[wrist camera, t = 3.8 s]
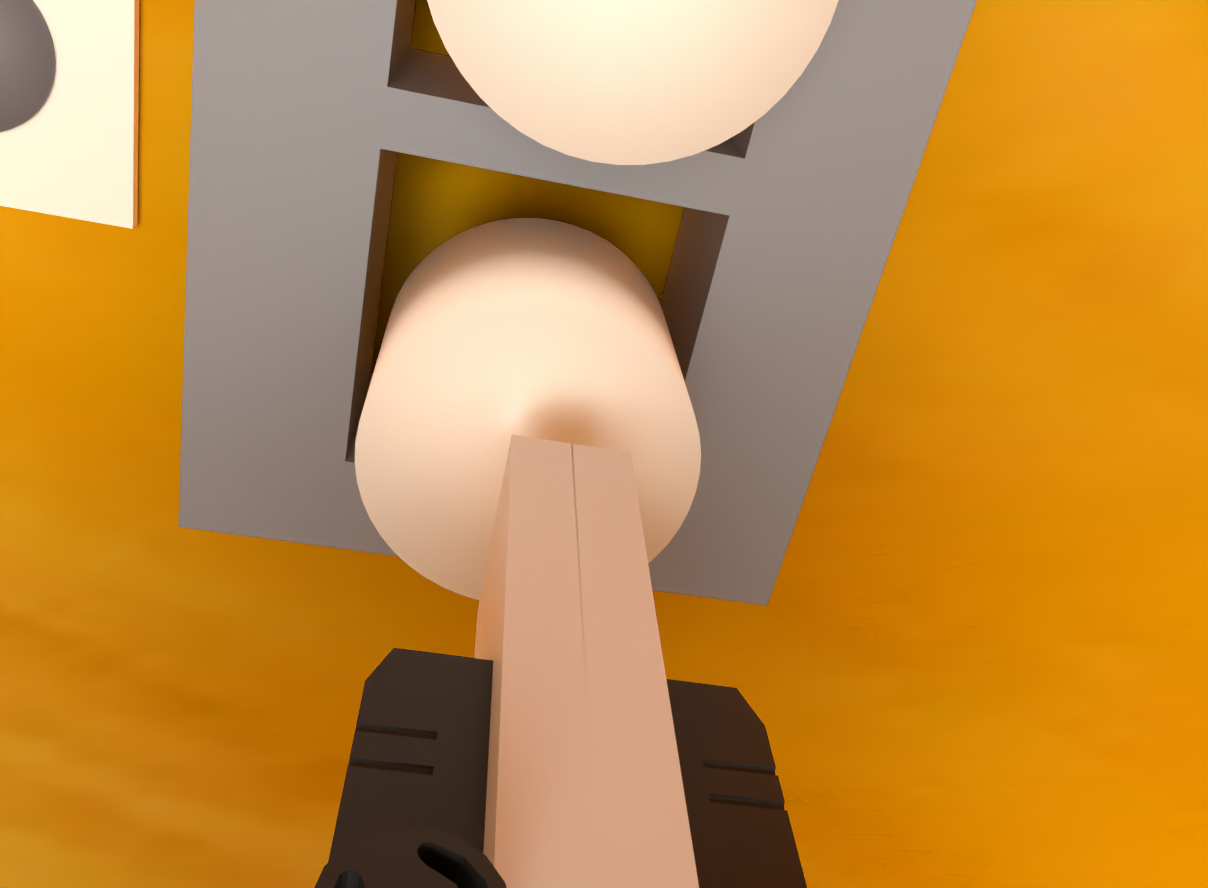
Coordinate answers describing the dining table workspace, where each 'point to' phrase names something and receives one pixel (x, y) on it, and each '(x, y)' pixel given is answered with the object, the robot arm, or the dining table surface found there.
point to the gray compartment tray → (483, 139)
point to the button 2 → (517, 389)
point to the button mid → (631, 68)
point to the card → (70, 108)
